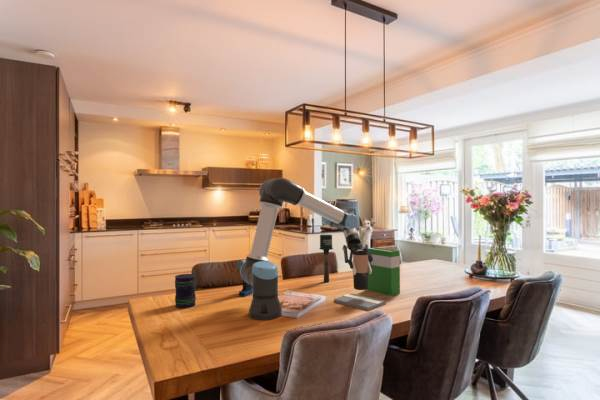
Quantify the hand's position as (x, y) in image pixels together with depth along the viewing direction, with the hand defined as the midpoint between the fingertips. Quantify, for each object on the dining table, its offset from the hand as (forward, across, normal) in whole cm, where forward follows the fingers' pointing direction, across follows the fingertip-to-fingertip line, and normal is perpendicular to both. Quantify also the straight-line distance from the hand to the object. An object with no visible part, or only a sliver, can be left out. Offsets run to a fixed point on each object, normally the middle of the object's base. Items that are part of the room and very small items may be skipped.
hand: (363, 273), depth 177 cm
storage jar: (0, +88, -23) cm, 91 cm away
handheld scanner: (-11, +56, -34) cm, 66 cm away
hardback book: (-3, -20, -25) cm, 32 cm away
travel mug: (+4, 0, -9) cm, 9 cm away
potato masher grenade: (-24, +6, -47) cm, 53 cm away
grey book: (+10, +1, -12) cm, 16 cm away
